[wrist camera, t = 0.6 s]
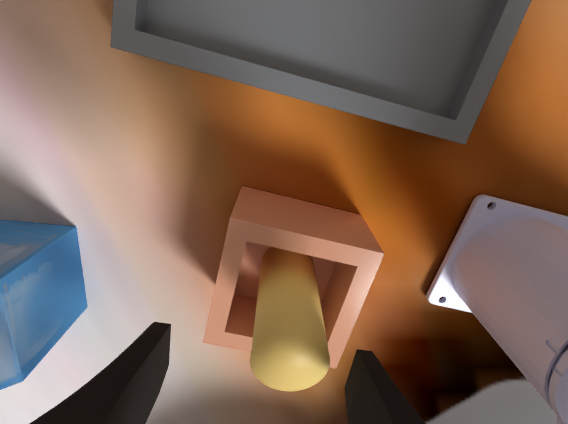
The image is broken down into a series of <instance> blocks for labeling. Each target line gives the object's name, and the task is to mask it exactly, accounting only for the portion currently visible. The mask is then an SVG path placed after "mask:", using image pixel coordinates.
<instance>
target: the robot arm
mask: <svg viewBox="0 0 568 424" xmlns="http://www.w3.org/2000/svg"><path fill="white" fill-rule="evenodd" d="M490 202H492V205H491V206H490V207H488V208H487V205H488V204H489V203H490ZM440 297H443V298H442V299H440V300H439V298H440ZM426 298H427V300H428V301H429V302H430V303H431V304H435V305H440V306H444V307H449V308H453V309H458V310H462V311H467V312H471V313H473V314H474V315H475V316H476V318H477V319H478V320H479V321H480V323H481V324H482V325H483V326H484V327H485V329H486V330H487V331H488V332H489V333H490V335H491V336H492V337H493V338H494V339H495V341H496V342H497V343H498V344H499V346H500V347H501V348H502V349H503V350H504V352H505V353H506V354H507V355H508V356H509V358H510V359H511V360H512V361H513V362H514V364H515V365H516V366H517V367H518V369H519V370H520V371H521V372H522V373H523V375H524V376H525V377H526V378H527V379H528V381H529V382H530V383H531V384H532V385H533V387H534V388H535V389H536V390H537V392H538V393H539V394H540V395H541V396H542V398H543V399H544V400H545V401H546V402H547V403H548V405H549V406H550V407H551V408H552V409H553V410H554V412H555V414H556V416H557V424H568V216H565V215H561V214H557V213H553V212H550V211H546V210H542V209H538V208H534V207H530V206H527V205H523V204H519V203H515V202H511V201H507V200H504V199H500V198H496V197H492V196H488V195H484V194H481V195H478V196H477V197H475V199H474V200H473V202H472V204H471V206H470V208H469V210H468V212H467V214H466V216H465V218H464V220H463V222H462V224H461V226H460V228H459V230H458V232H457V234H456V236H455V238H454V240H453V242H452V244H451V246H450V248H449V250H448V252H447V254H446V256H445V258H444V260H443V262H442V264H441V266H440V268H439V270H438V272H437V274H436V276H435V278H434V280H433V282H432V284H431V286H430V288H429V290H428V292H427V295H426ZM170 332H171V324H166V323H159V322H154V323H152V324H151V325H150V326H149V327H148V328H147V329H146V330H145V331H144V332H143V333H142V334H141V335H140V336H139V337H138V338H137V339H136V340H135V341H134V342H133V343H132V344H131V345H130V346H129V347H128V348H127V349H126V350H125V351H124V352H122V353H121V354H120V355H119V356H118V357H117V358H116V359H115V360H114V361H113V362H111V363H110V364H109V365H108V366H107V367H106V368H104V369H103V370H102V371H101V372H100V373H98V374H97V375H96V376H95V377H94V378H92V379H91V380H90V381H89V382H88V383H86V384H85V385H84V386H82V387H81V388H80V389H79V390H77V391H76V392H75V393H73V394H72V395H71V396H69V397H68V398H67V399H65V400H64V401H62V402H61V403H60V404H58V405H57V406H55V407H54V408H52V409H51V410H49V411H48V412H46V413H45V414H43V415H42V416H40V417H39V418H37V419H36V420H34V421H33V422H31V423H30V424H145V423H146V421H147V419H148V417H149V414H150V412H151V410H152V408H153V406H154V403H155V401H156V399H157V397H158V395H159V392H160V389H161V387H162V384H163V381H164V378H165V375H166V372H167V369H168V366H169V350H170ZM345 398H346V408H347V416H348V421H349V424H425V422H424V421H423V420H422V419H421V417H420V416H419V415H418V414H417V413H416V411H415V410H414V409H413V407H412V406H411V405H410V404H409V402H408V401H407V400H406V398H405V397H404V396H403V394H402V393H401V392H400V390H399V389H398V387H397V386H396V385H395V383H394V382H393V380H392V379H391V378H390V376H389V375H388V373H387V372H386V370H385V369H384V368H383V366H382V365H381V363H380V362H379V360H378V359H377V358H376V356H375V355H374V353H373V352H372V351H365V350H358V349H357V351H356V354H355V357H354V360H353V363H352V366H351V369H350V372H349V376H348V379H347V382H346V385H345Z"/></svg>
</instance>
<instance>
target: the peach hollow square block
mask: <svg viewBox="0 0 568 424" xmlns="http://www.w3.org/2000/svg"><path fill="white" fill-rule="evenodd" d="M270 247H275V248H279V249H283V250H288V251H292V252H296V253H301V254H305V255H310V256H312V259H313V263H314V269H315V275H316V281H317V286H318V292H319V298H320V304H321V309H322V315H323V321H324V327H325V332H326V338H327V344H328V350H329V355H330V365H329V367H331V368H336V367H337V365H338V363H339V360H340V358H341V356H342V353H343V351H344V348H345V346H346V344H347V341H348V339H349V336H350V334H351V332H352V329H353V327H354V325H355V322H356V320H357V317H358V315H359V313H360V310H361V308H362V306H363V303H364V301H365V298H366V296H367V294H368V291H369V289H370V286H371V284H372V282H373V279H374V277H375V275H376V272H377V270H378V267H379V265H380V263H381V260H382V258H383V255H384V252H383V251H382V249H381V247H380V246H379V244H378V242H377V241H376V239H375V237H374V236H373V234H372V232H371V230H370V229H369V227H368V225H367V224H366V222H365V220H364V219H363V217H362V215H360V214H356V213H351V212H347V211H343V210H339V209H335V208H331V207H327V206H323V205H319V204H315V203H311V202H306V201H302V200H298V199H294V198H290V197H286V196H282V195H278V194H274V193H270V192H266V191H262V190H257V189H253V188H249V187H245V186H242V187H241V190H240V193H239V195H238V198H237V200H236V203H235V206H234V208H233V211H232V213H231V216H230V220H229V224H228V229H227V233H226V238H225V243H224V247H223V252H222V257H221V261H220V266H219V270H218V275H217V280H216V284H215V289H214V294H213V298H212V303H211V307H210V312H209V317H208V321H207V326H206V331H205V335H204V340H203V343H208V344H213V345H218V346H223V347H228V348H233V349H238V350H244V351H249V352H251V349H252V340H253V331H254V322H255V314H256V305H257V296H258V288H259V279H260V270H261V262H262V258H263V256H264V254H265V252H266V251H267V250H268V249H269V248H270Z"/></svg>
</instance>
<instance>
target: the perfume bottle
mask: <svg viewBox="0 0 568 424" xmlns="http://www.w3.org/2000/svg"><path fill="white" fill-rule="evenodd" d="M86 308H87V300H86V293H85V286H84V278H83V271H82V264H81V257H80V250H79V243H78V235H77V228H76V226H65V225H54V224H43V223H32V222H21V221H9V220H0V390H1V389H4V388H6V387H9V386H12V385H14V384H17V383H20V382H22V381H24V379H25V378H26V377H27V376H28V375H29V374H30V373H31V371H32V370H33V369H34V368H35V367H36V366H37V364H38V363H39V362H40V361H41V360H42V359H43V358H44V356H45V355H46V354H47V353H48V352H49V351H50V349H51V348H52V347H53V346H54V345H55V344H56V343H57V341H58V340H59V339H60V338H61V337H62V336H63V334H64V333H65V332H66V331H67V330H68V329H69V328H70V326H71V325H72V324H73V323H74V322H75V321H76V319H77V318H78V317H79V316H80V315H81V314H82V313H83V311H84V310H85V309H86Z"/></svg>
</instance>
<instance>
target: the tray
mask: <svg viewBox="0 0 568 424" xmlns="http://www.w3.org/2000/svg"><path fill="white" fill-rule="evenodd" d="M530 2H531V0H113V17H112V33H111V47H112V48H116V49H119V50H123V51H127V52H130V53H134V54H137V55H141V56H145V57H148V58H152V59H156V60H159V61H163V62H167V63H170V64H174V65H177V66H181V67H185V68H188V69H192V70H196V71H199V72H203V73H206V74H210V75H214V76H217V77H221V78H225V79H228V80H232V81H235V82H239V83H243V84H246V85H250V86H254V87H257V88H261V89H264V90H268V91H272V92H275V93H279V94H283V95H286V96H290V97H294V98H297V99H301V100H304V101H308V102H312V103H315V104H319V105H323V106H326V107H330V108H333V109H337V110H341V111H344V112H348V113H352V114H355V115H359V116H362V117H366V118H370V119H373V120H377V121H381V122H384V123H388V124H391V125H395V126H399V127H402V128H406V129H410V130H413V131H417V132H420V133H424V134H428V135H431V136H435V137H439V138H442V139H446V140H450V141H453V142H457V143H460V144H464V145H465V144H466V142H467V140H468V138H469V135H470V133H471V131H472V129H473V127H474V124H475V122H476V120H477V118H478V116H479V114H480V111H481V109H482V107H483V105H484V103H485V100H486V98H487V96H488V94H489V92H490V90H491V87H492V85H493V83H494V81H495V79H496V76H497V74H498V72H499V70H500V68H501V66H502V63H503V61H504V59H505V57H506V55H507V52H508V50H509V48H510V46H511V44H512V42H513V39H514V37H515V35H516V33H517V31H518V29H519V26H520V24H521V22H522V20H523V18H524V15H525V13H526V11H527V9H528V7H529V5H530Z"/></svg>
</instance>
